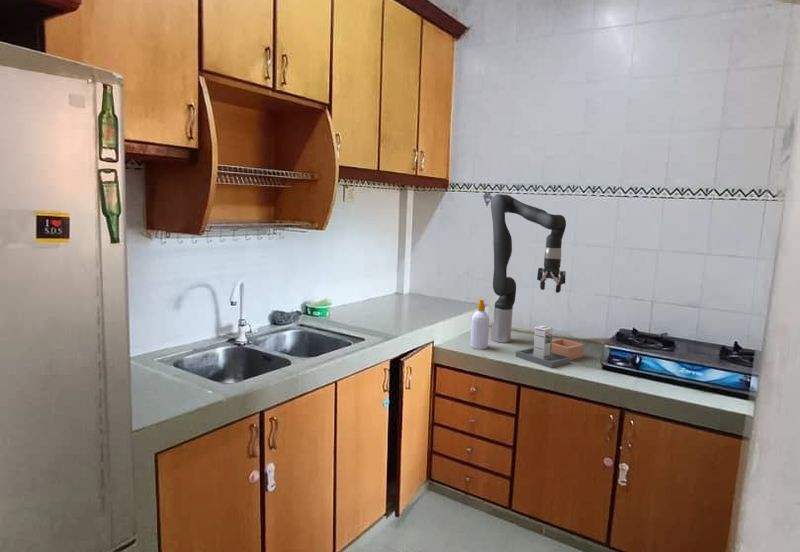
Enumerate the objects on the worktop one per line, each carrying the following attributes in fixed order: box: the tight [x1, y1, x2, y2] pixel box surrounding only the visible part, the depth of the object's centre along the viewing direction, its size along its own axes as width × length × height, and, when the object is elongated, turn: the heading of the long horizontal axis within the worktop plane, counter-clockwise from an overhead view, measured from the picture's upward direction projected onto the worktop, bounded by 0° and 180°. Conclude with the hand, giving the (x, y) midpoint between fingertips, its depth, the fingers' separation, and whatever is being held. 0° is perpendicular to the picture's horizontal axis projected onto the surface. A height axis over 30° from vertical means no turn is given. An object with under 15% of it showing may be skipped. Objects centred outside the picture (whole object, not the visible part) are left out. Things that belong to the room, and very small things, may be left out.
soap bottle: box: [469, 297, 490, 350], centre depth 257 cm, size 9×9×24 cm
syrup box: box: [533, 325, 553, 359], centre depth 239 cm, size 6×6×14 cm
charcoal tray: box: [515, 346, 572, 369], centre depth 240 cm, size 20×14×3 cm
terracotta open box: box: [551, 338, 585, 361], centre depth 248 cm, size 12×12×6 cm
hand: (550, 291), depth 248 cm, fingers open, 8 cm apart
